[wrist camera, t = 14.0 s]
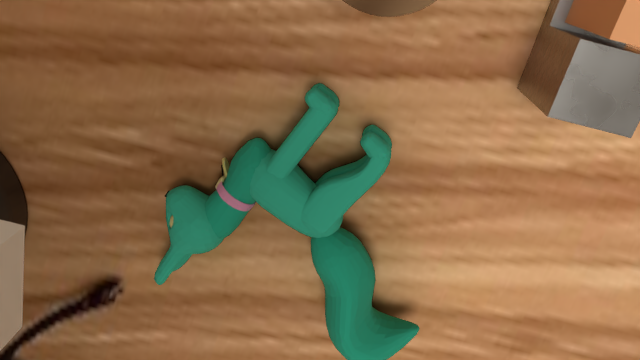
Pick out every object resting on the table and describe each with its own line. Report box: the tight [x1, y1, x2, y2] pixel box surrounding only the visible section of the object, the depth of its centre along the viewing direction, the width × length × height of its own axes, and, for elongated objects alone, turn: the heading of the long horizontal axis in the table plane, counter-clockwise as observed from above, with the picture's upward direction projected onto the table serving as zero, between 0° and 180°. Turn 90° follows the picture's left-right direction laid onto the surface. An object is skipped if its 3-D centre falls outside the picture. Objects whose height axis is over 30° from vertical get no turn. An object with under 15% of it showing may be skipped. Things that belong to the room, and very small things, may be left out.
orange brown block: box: [565, 0, 640, 47], centre depth 31 cm, size 4×4×7 cm
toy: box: [154, 83, 419, 360], centre depth 42 cm, size 7×22×20 cm
